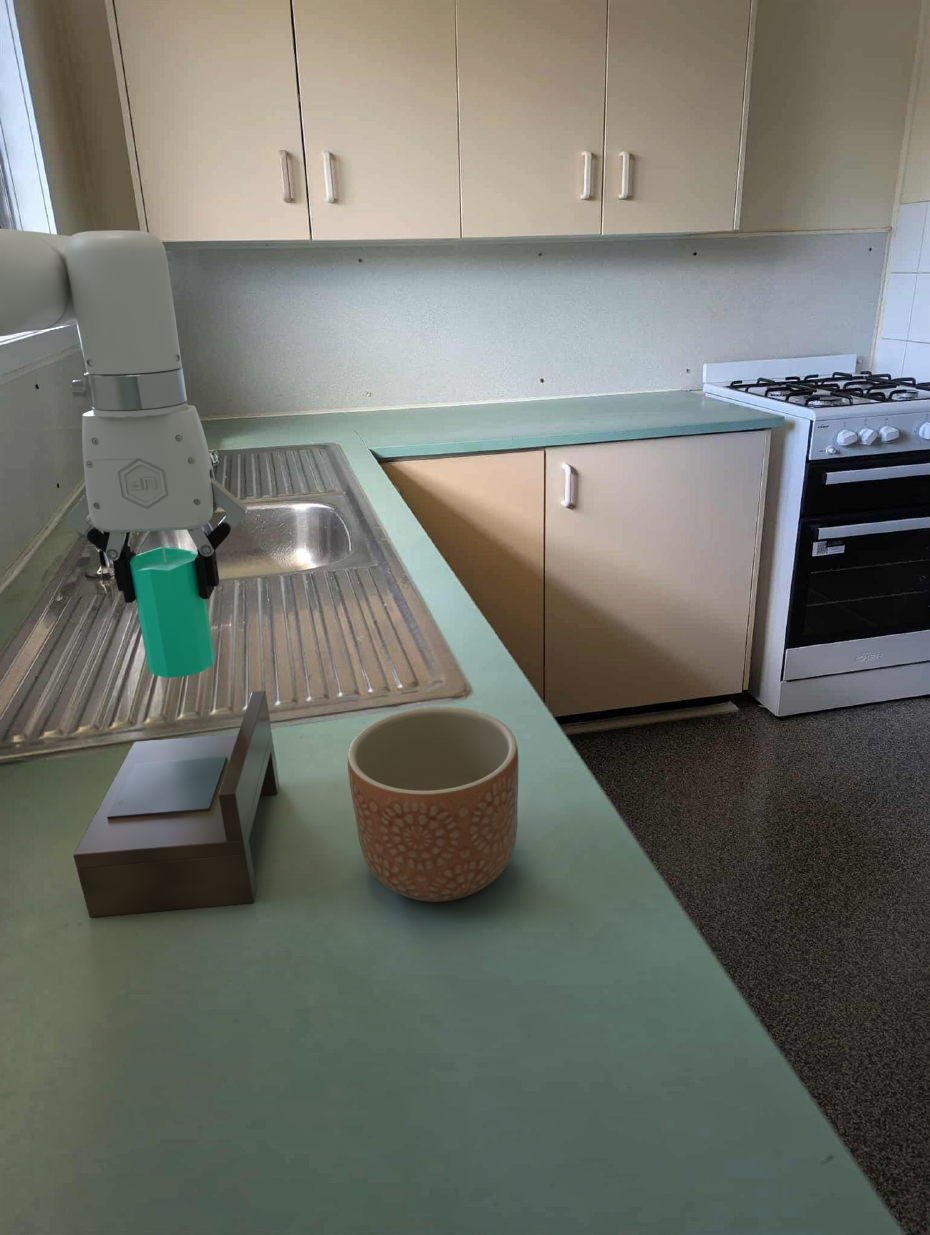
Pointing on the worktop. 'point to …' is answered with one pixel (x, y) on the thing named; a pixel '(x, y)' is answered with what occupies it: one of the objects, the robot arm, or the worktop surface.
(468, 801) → the planter
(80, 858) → the wooden chair-shaped stand
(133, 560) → the candle
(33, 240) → the robot arm
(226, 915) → the worktop surface
